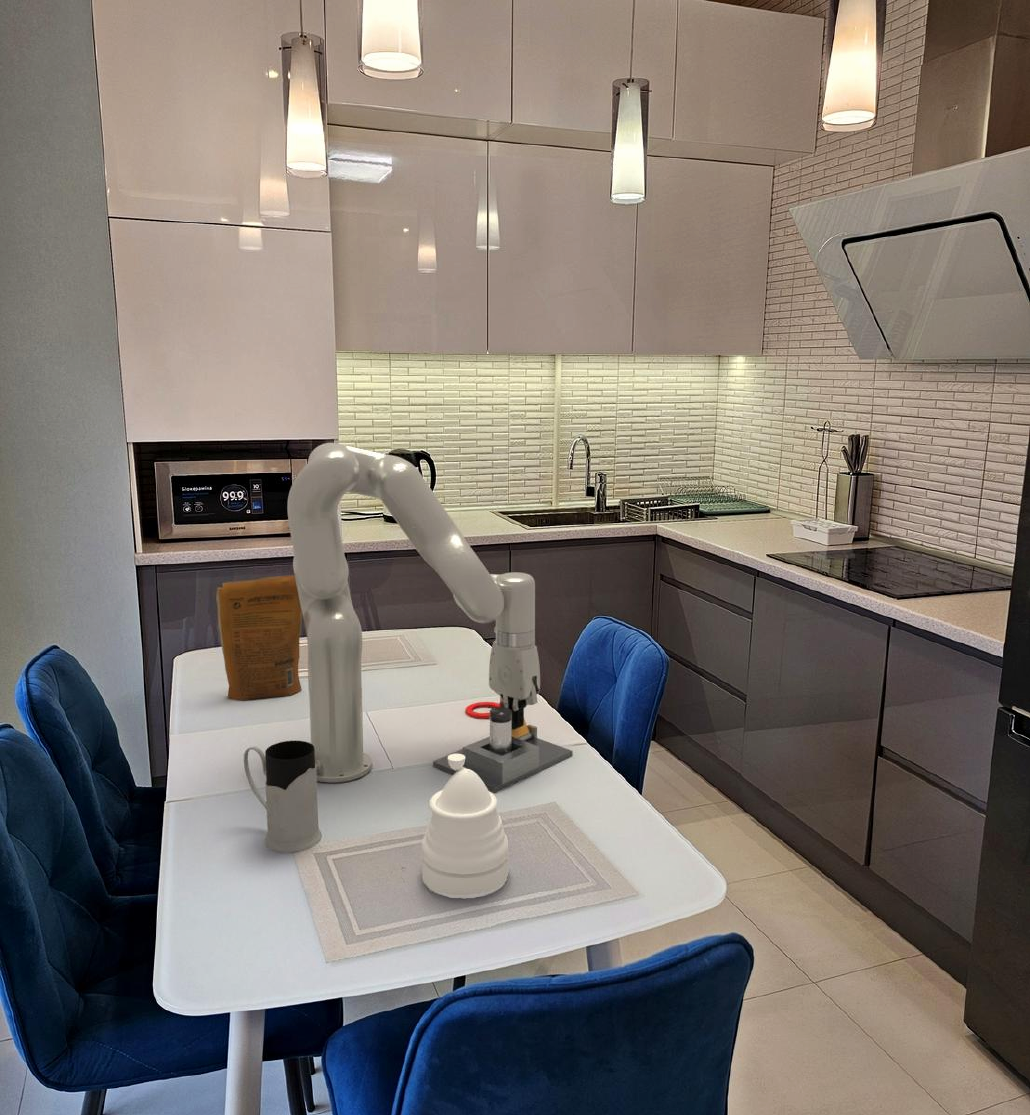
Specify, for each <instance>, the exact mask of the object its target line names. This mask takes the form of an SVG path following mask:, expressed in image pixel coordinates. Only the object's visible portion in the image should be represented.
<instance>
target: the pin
mask: <svg viewBox="0 0 1030 1115" xmlns="http://www.w3.org/2000/svg"><path fill="white" fill-rule="evenodd" d="M489 712H490V718H489V736H490V751H491V752H493V753H496V754H498V755H501V756H503V755H505V754H507V753H510V752H511V725H512V711H511V709H509V708H505V707H497V708H491V709H490V710H489Z"/></svg>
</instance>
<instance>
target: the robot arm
mask: <svg viewBox="0 0 1030 1115" xmlns="http://www.w3.org/2000/svg"><path fill="white" fill-rule="evenodd" d="M428 484H429V483H428V482H427V481H426V480H425V478H424V477H423V475H422V474H421V472H420V471H419V470H418V468H416V466H415V465H414V464H413V463H411V462H410V461H408V460H406V459H404V458H402V457H399V456H397V455H392V454H386V453H380V452H375V451H372V450H371V451H370V450H367V449H363V448H359V447H353V446H350V445H346V444H341V443H337V442H326V443H322V444H321V445H318V446H317V447H315V448H314V449H313V450H312V451H311V453H310V454H309V457H308V459H307V464H306V465H305V466H303V468H302V469H301V470H300V472H299V473H298V474H297V475H296V477H295V479H294V480H293V483H292V485H291V486H290V489H289V492H288V497H287V517H288V518H287V519H288V520H287V521H288V524H289V531H290V532H289V533H290V538H291V539H290V540H291V545H292V549H293V555H294V556H293V561H292V569H293V573H294V574H293V575H295V580H296V585H297V590H298V595H299V600H300V604H301V609H302V620H303V624H304V628H305V633H306V639H307V640H306V641H307V672H308V673H307V674H308V696H309V697H308V698H309V700H308V701H309V726H310V727H309V729H310V743H311V744H312V745H313V746H314V748H315V768H316V771H317V782H322V783H332V784H333V783H345V782H350V781H354V780H357V779H359V778H362V777H364V776H365V775H367V774H369V772H370V771H371V770H372V767H373V759H372V758H371V756H370V755H368V754H367V753H366V752H364V724H363V721H364V720H363V686H362V656H363V630H362V626H361V623H360V620H359V617H358V615H357V613H356V611H355V610H354V607H353V602H352V596H351V590H350V586H349V574H350V573H349V564H348V561H347V558H346V556H345V555H346V554H345V550H344V548H343V547H344V546H343V541H342V536H341V532H340V530H341V529H340V523H339V518H338V517H339V515H338V510H339V509H338V508H339V504H340V502H341V499H342V498H343V497H344V496H345V495H346V494H347V493H350V494H356V495H359V496H360V495H361V496H366V497H370V498H377V499H380V501H381V502H382V504H383V505H384V506H385V508H386V509H387V511H388V512H389V513H390V515H391V516H392V518H393V519H394V520H395V521H396V523H397V524H398V526H399V527H400V529H401V530H402V532H403V533H404V534H405V536H406V537H407V539H408V540H409V541H410V544H412V545H413V547H414V549H415V550H416V551H417V552H418V554H419V555H420V556H421V557H422V559H423V560H424V561H425V562H426V563H427V564H428V565H429V566H430V567H431V568H432V569H434V571H435V572H436V573H437V575H439V576H438V577H440V579H442V581H443V582H444V584H445V585H446V586H447V588H448V589H449V590H450V592H451V593H452V595H453V600H454V601H455V603H456V604H457V606H458V607H459V608H461V610H462V611H463V612H464V613H465V614H466V615H467V616H468V618H470V619H471V620H472V621H474V622H475V623H479V624H490V623H492V622H494V621H495V627H494V628H493V631H494V634H495V640H494V641H493V642H492V646H491V652H490V657H489V665H488V666H489V667H488V669H489V670H488V686H489V688H490V689H491V691H493V692H494V693H496V694H497V695H499V697H500V696H501V697H502V699H503V701H504V706H505V708H509V709H511V711H512V725H511V729H513V730H514V729H517V728H519V727H522V726H523V725H524V719H525V715H524V714H525V711H524V710H525V708H527V706H533V705H537V704H538V697H537V695H539V694H540V690H541V671H540V660H539V653H538V647H537V645H535V644H536V581H535V579H534V577H533V576H532V575H531V574H528V573H526V572H506V573H502V574H494V573H490V572H489V571H488V570H487V567H486V566H485V565H484V564H483V562H482V561H481V560H480V558H479V556H478V555H477V554H476V552H475V551H474V550H473V548H472V547H471V545H470V544H469V543H468V542H467V541H468V540H466V538H465V536H464V534H462V532H461V530H460V529H459V527H458V526H457V525H456V523H455V521H454V520H453V519H452V517H451V516H450V515H449V514H448V512H447V510H446V509H445V507H444V506H443V504H442V503H441V501H440V500H439V499H438V497H437V496H436V494H435V493H434V491H433V490H432V489H431V487H430V485H428Z"/></svg>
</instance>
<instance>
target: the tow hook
mask: <svg viewBox="0 0 1030 1115" xmlns="http://www.w3.org/2000/svg"><path fill="white" fill-rule="evenodd" d="M497 707H505V706H504V701H503V699H502V697H501V696H500V695H499V703H498V702H495V701H494V702H493V701H480V702H475V703H471V704H469V705H468V706H466V707H465V715H466V716H468V717H470V718H473V719H482V720H483V719H490V711H489V712H476V711H474V710H477V709H480V708H491V709H493V708H497Z"/></svg>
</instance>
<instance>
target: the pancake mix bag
mask: <svg viewBox="0 0 1030 1115" xmlns="http://www.w3.org/2000/svg"><path fill="white" fill-rule="evenodd" d="M221 585H222V587H217V588H216V594H215V597H216V599H215V600H216V606H217V626H218V632H219V639H220V640H219V641H220V645H221V648H222V649H221V650H222V655H223V656H222V657H223V660H224V661H223V662H224V668H225V669H224V670H225V673H226V677H227V678H226V679H227V683H228V692H227V696H226V697H227V698H228V699H230V700H234V701H243V702H244V701H253V700H260V699H270V698H278V697H290V696H294V695H296V694H298V693H300V692H301V691H302V688H303V687H302V685H301V681H300V676H299V674H300V673H299V661H300V636H301V631H302V630H301V629H302V622H303V614H302V609H301V604H300V600H299V595H298V590H297V585H296V580H295V574H291V575H289V574H288V575H279V576H270V577H262V578H257V579H256V578H255V579H250V580H237V581H229V582H228V581H227V582H222V584H221Z"/></svg>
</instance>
